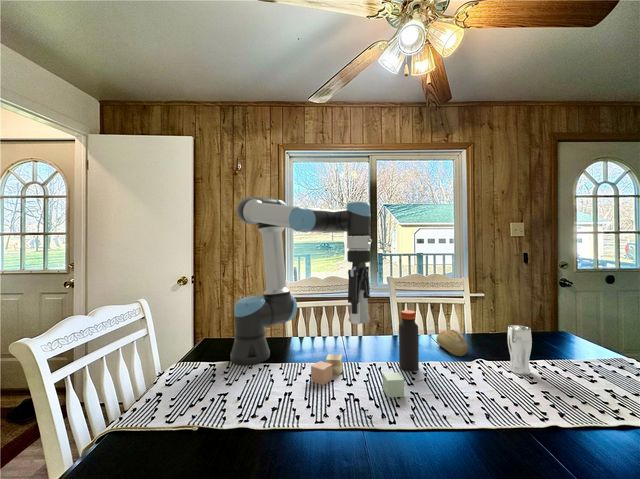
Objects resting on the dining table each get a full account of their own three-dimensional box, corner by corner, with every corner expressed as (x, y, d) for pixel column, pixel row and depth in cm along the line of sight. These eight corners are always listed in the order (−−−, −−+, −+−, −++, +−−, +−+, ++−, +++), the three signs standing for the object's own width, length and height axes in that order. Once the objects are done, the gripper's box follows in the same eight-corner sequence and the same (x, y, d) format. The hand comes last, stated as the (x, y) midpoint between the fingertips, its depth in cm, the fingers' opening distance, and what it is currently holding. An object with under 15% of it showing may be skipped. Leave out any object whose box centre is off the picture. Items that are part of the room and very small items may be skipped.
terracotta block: (311, 381, 98) (311, 366, 98) (320, 375, 102) (320, 360, 102) (323, 385, 95) (323, 369, 95) (332, 379, 99) (332, 364, 99)
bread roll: (450, 343, 132) (450, 325, 132) (474, 356, 117) (474, 336, 117) (430, 345, 130) (430, 327, 130) (453, 358, 115) (452, 338, 115)
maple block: (326, 373, 104) (325, 359, 104) (328, 367, 109) (328, 353, 109) (340, 374, 103) (340, 360, 103) (342, 368, 108) (342, 354, 108)
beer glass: (528, 368, 106) (527, 325, 106) (535, 376, 99) (534, 331, 99) (505, 365, 108) (505, 324, 108) (510, 374, 102) (510, 329, 101)
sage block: (387, 397, 88) (387, 380, 88) (382, 389, 93) (382, 372, 93) (404, 396, 88) (404, 379, 88) (398, 388, 93) (398, 372, 93)
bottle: (401, 362, 112) (400, 308, 112) (420, 365, 109) (419, 310, 109) (397, 369, 106) (396, 312, 106) (417, 372, 103) (416, 314, 103)
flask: (370, 325, 93) (370, 292, 93) (347, 323, 94) (346, 292, 94) (371, 318, 100) (370, 288, 100) (349, 317, 101) (349, 288, 101)
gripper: (359, 251, 86) (360, 330, 87) (378, 248, 104) (379, 314, 104) (335, 250, 90) (336, 327, 90) (358, 248, 108) (358, 312, 108)
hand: (359, 320), depth 97 cm, fingers closed on flask, 7 cm apart
